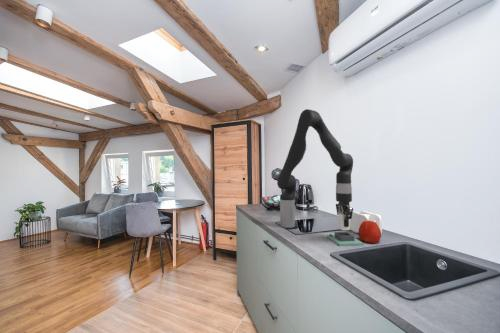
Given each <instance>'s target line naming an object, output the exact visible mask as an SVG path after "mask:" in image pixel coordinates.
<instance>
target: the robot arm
mask: <svg viewBox="0 0 500 333" xmlns="http://www.w3.org/2000/svg"><path fill="white" fill-rule="evenodd" d="M297 122H298V123H297V126H296V129H295V134H294V136H293V139H292V142H291V145H290V147H289V151H288V153H287V155H286V159H285V160H284V161H285V162H284V164H283V167H282V169H281V171H280V173H279V175H278V178H277V183H276V185H277V187H278V188H279V189H281V190H284V191H283V192H282V193H281V194H280V195H279V209H280V210H279V212H280V213H279V214H280V215H279V218H280V223H279V226H280V228H288V229H291V228H294V227H295V226H296V224H295V223H296V222H295V220H296V217H295V216H296V213H295V212H296V211H295V210H296V208H295V204H296V203H295V201H296V200H295V199H296V198H295V197H296V194H297V192H296V191H297V179H296V177H295V175H293V174H292V173H293V171H294V169H295V168H296V167H297V166H298V165H299V164H300V163H301V161H302V160H303V158H304V156H305V154H306V150H307V137H306V136H307V133H308V130H309V128H310V127H311V128H313V130H315V131H316V132H317V135H318V137H319V140H320V143H321V145H323V147H324V148H325V150H326V151H327V152H328V154H329V156H330V159H331V161H332V162H333V164H334V165H335V166H337V167H339V170H338V172H336V175H335V176H336V177H335V180H336V182H335V184H336V185H335V201H336V202H338V203H336V204H335V209H336V214H337V216H338V213H342V214H343V215H344V227H349V219H352V213H353V212H354V208H353V207H351V205H350V203H351V202H352V201H353V191H352V190H353V187H352V172H353V168H354V158H353V155H351V154H349V153H344V152H343V150H342V146H341V144H340V143H339V142H338V140H337V139H336V138H335V137H334V135H333V134H332V133H331V131H330V130H329V129H328V127H327V125H326V123H325V122H324V119H323V118H322V116H321V114H320V113H319V112H318V111H316V110H313V109H308V108H307V109H304V110H302V111H301V113H300V114H299V118H298V121H297ZM344 212H346V213H344ZM349 215H350V216H349Z"/></svg>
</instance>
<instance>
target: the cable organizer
mask: <svg viewBox="0 0 500 333" xmlns="http://www.w3.org/2000/svg"><path fill="white" fill-rule="evenodd" d="M363 221H374V222H375V223H376V224H377V225H378V226H379V228H380V230H381V235H382V233H383V218H382V216H381V215H380V214H379V213H378V214H377V213H374V212H370V211H367V210H362V211H360V213H359V212H357V211H353V213H352V219H350V230H351V231H352V232H353V233H356V234H358V232H359V227H360V225H361V224H362V222H363Z"/></svg>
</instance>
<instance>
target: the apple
mask: <svg viewBox="0 0 500 333" xmlns="http://www.w3.org/2000/svg"><path fill="white" fill-rule="evenodd" d="M357 234H358V237H359V239H360V241H361V242H362V241H363V243H364V242H365V243H369V244H377V243H379V242H380V241H381V237H382V234H381V230H380V228H379V226H378V225H377V224H376V223H375V222H374V221H363V222H362V224H361V225H360V227H359V232H358V233H357Z"/></svg>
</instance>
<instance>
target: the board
mask: <svg viewBox="0 0 500 333" xmlns="http://www.w3.org/2000/svg"><path fill="white" fill-rule="evenodd" d="M326 235H327V236H326V237H327V238H328V239H329V240H331V241H332V242H333V243H334V244H336V245H337V246H339V247H349V246H352V247H353V246H364V242H362V240H359V239H357V238H355V235H353V234H352V233H350V232H348V231H335V232H334V234H331V233H329V234H326Z"/></svg>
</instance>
